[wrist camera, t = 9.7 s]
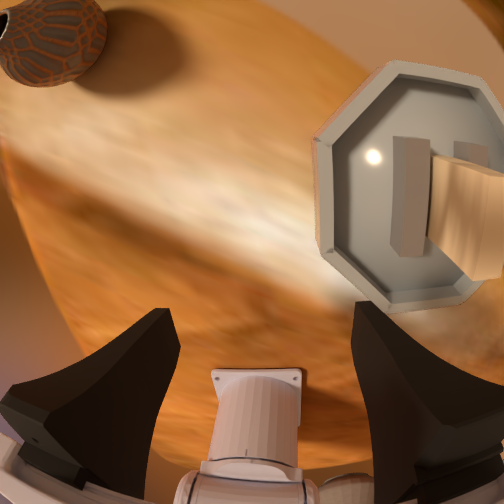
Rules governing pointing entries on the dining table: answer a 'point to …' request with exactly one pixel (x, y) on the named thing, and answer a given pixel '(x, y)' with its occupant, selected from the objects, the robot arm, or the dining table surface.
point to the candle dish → (370, 178)
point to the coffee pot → (348, 489)
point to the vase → (51, 40)
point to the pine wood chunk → (467, 215)
